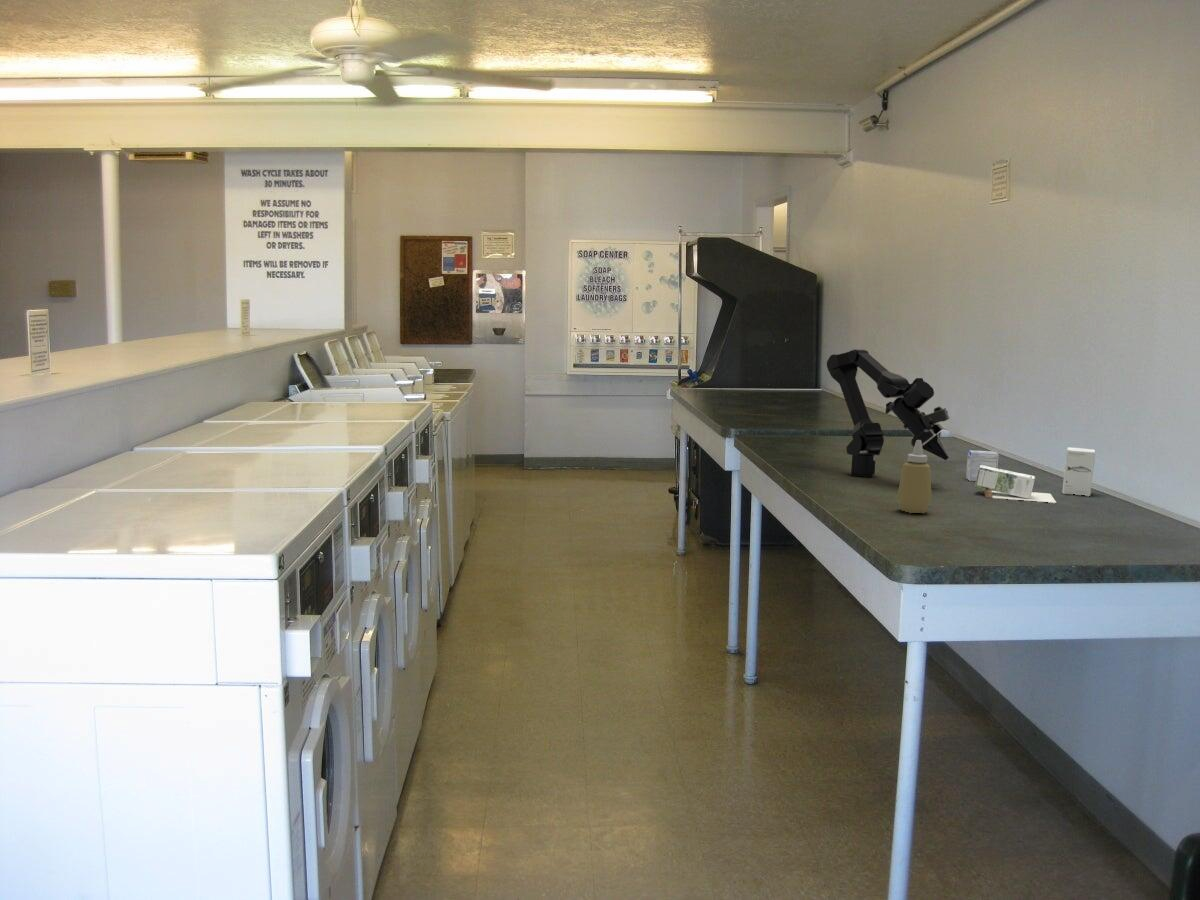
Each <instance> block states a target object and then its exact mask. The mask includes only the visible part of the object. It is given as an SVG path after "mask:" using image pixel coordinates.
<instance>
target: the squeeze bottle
mask: <svg viewBox="0 0 1200 900" xmlns="http://www.w3.org/2000/svg"><path fill="white" fill-rule="evenodd" d="M922 446H923V444H922V442H921V440H916V443H915V446H914V447H913V450H912V453H909V454H907V462H904V463H903V464H902V470H901V474H900V481H899V485H898V490H897V501H898V503H899V508H900V511H901V510H902V511H901V512H903V511H905V512H904V513H906V512H910V513H909V514H911V513H922V514H926V512H927V510H928V508H929V505H930V503H931V501H932V479H931V475H932V474H931V472H932V471H931V469H932V468H931V466H930V465H929V464H928V463H927V462H928V455H927V454H924V452H923V450H924V449H922Z"/></svg>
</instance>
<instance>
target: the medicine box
mask: <svg viewBox="0 0 1200 900" xmlns="http://www.w3.org/2000/svg"><path fill="white" fill-rule="evenodd" d="M999 456H1000V455H999V453H998V452H996V451H989V450H971V449H970V450H967V458H966V459H967V460H966V469H965V470H966V471H965V472H966V473H965V479H966V480H967V479H968V480H969V481H968V480H967V481H968V482H976V479H977V475H978V471H979V467H980V465H985V466H989V467H994V468H998V467H999V466H998V465H999V464H998V463H999Z"/></svg>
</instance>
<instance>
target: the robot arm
mask: <svg viewBox="0 0 1200 900" xmlns="http://www.w3.org/2000/svg"><path fill="white" fill-rule="evenodd" d="M826 367H827V371H828V372H829V375H830V377H831V378H833V380H835V381H836V382H837V383H838V385H839V386H840V388H841V390H840V391H841V392H842V395H843V398H844V401H845V404H846V406H847V409H848V412H849V415H850V418H851V420H852V423H853V430H852V433H851V436H852V439H851V441H850V442H849V443H848V444H847V446H846V447H845V448H846V449H845V450H846V454H847V455H850V456H851V468H850V469H851V470H850V472H849V473H850V474H849V475H850V476H853V477H865V478H866V477H867V478H872V477H873V478H874V475H876V466H877V465H876V463H877V460H876V459H875V456H880V454H881V451H882V448H883V446H884V442H885V438H884V435H885V433H884V432H883V430H882V427H881V423H879V422H873V421H872V420H871V418H870V416H869V413H868V410H867V407H866V405H865V401H864V399H863V395H862V393H861V390H860V388H859V386H858V385H859V384H858V382H857V379H856V377H857V373H858V369H861V371H862V372H864V373H865V374H866V375H867V376H868V377H870V379H871V380H873V381H874V382H875V384H876V389H877V390H878V392H879V393H880V394H881V396H883V397H884V398H885V399H895V400H893V401H888V402H887V403H886V404H885V414H886V415H888V414H889V413H891V412H893V414H894V415H895V416H896V417H897V418H898V420H899V422H901V423H902V424H903V426H902V427H903V428H904V429H907V430H908V431H909V432H910V434H912V439H911V443H910V444H911V446H912V447H913V448H914V446H915V443H916V440H921V442H922V449H923V450H924V451H926V452H928V453H930V454H933V455H934V456H937V457H938V458H940V459H942V460H944V461H947V460H948V459H949V454H948V453H947V451H946V448H945V447H944V445H943V443H942V441H941V436H942V430H944V427H943V425H941V424H940V422H945V421H948V420H950V416H949V414H948V413H949V411H948V410H947V408H942V407H941V406H937V407H934V408H933V412H930V413H928V414H926V413H925V412H924V411H920V408H921V407H922V406H924V405H925V404H926V403H927V402H928V401H929V400H930V399H931V398H932V397H934V394H935V391H934V387H933V386H931V385H930V384H929V383H928V382H926V381H925V380H924V379H923V377H916V378H915V379H914V380H913V381H912V382H911V383H910V382H909V380H908V379H907V378H906V377H903V376H901V375H900V374H897V373H894V372H891V371H890V370H889V369H887V368H886V367H884V366H883V365H882V364H881V363H880V361H878V360H877V359H875V357H873V356H872V355H871V354H869V351H868V350H866V349H852V350H850V351H846V352H844V353H843V352H842V353H838V354H831V355H830V356H829V357H828V358H827V360H826Z"/></svg>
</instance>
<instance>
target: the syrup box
mask: <svg viewBox="0 0 1200 900" xmlns="http://www.w3.org/2000/svg"><path fill="white" fill-rule="evenodd" d="M1035 480H1036V476H1035V475H1030V474H1027V473H1021V472H1017V471H1012V470H1008V469H1003V468H998V467H997V468H994V467H989V466H985V465H980V467H979V471H978V475H977V479H976V481H975V484H974V487H976V488H979V489H982V490H983V489H987V490H992V491H997V492H1001V493H1005V494H1010V495H1014V496H1019V497H1023V498H1030V497H1031V494H1032V492H1033V488H1034V484H1035Z"/></svg>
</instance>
